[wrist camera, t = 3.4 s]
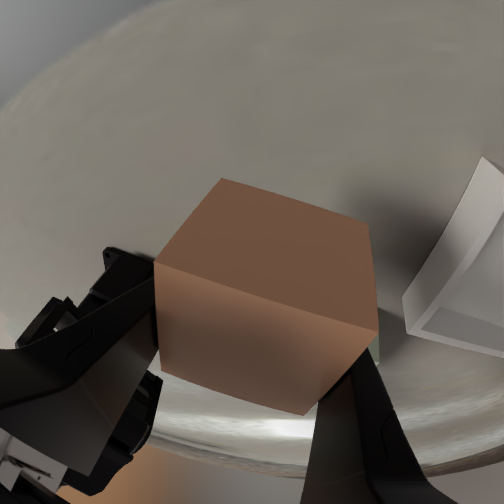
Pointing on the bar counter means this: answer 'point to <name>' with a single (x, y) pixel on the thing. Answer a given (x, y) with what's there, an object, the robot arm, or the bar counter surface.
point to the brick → (265, 297)
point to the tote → (465, 273)
